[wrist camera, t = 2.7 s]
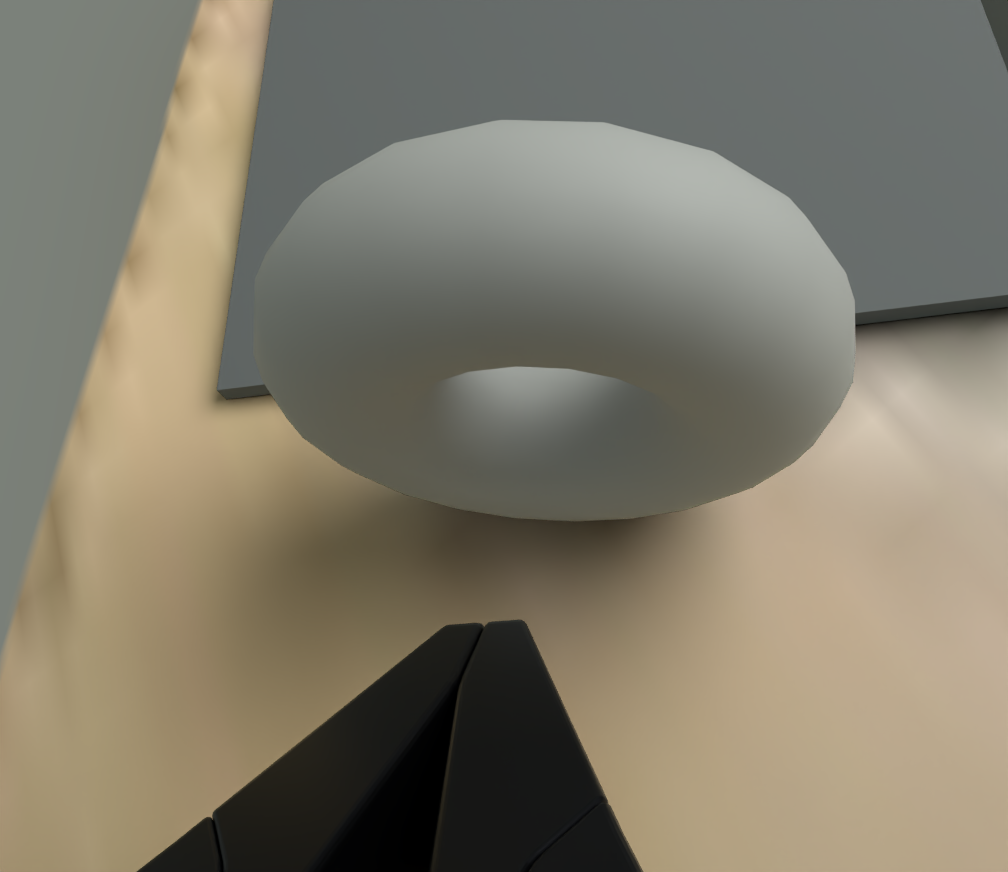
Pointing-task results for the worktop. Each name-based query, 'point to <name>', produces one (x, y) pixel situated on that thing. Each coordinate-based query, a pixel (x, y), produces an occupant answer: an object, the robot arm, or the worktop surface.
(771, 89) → the mat
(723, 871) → the worktop surface
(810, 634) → the worktop surface
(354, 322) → the donut
